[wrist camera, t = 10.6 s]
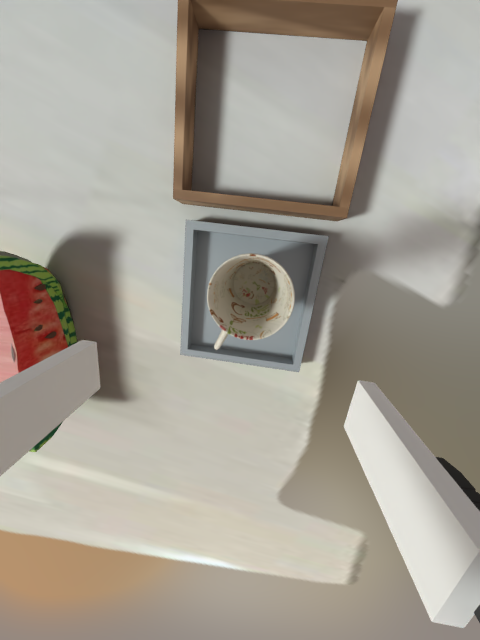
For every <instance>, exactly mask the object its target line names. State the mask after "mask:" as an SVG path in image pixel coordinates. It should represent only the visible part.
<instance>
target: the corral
mask: <svg viewBox="0 0 480 640" xmlns="http://www.w3.org/2000/svg"><path fill="white" fill-rule="evenodd" d="M397 1H398V0H178V21H177V61H176V102H175V142H174V183H173V199H175V200H177V201H179V202H180V203H182V204H188V205H197V206H206V207H215V208H224V209H232V210H241V211H250V212H259V213H268V214H277V215H286V216H295V217H304V218H313V219H321V220H330V221H339V220H342V219H345V218H347V215H348V211H349V206H350V202H351V198H352V194H353V189H354V185H355V181H356V177H357V172H358V168H359V164H360V159H361V155H362V151H363V147H364V142H365V138H366V134H367V130H368V125H369V121H370V117H371V112H372V108H373V104H374V100H375V95H376V91H377V87H378V83H379V78H380V74H381V70H382V65H383V61H384V57H385V53H386V48H387V44H388V40H389V36H390V31H391V27H392V23H393V18H394V14H395V10H396V6H397ZM199 29H210V30H224V31H238V32H252V33H266V34H280V35H294V36H309V37H323V38H337V39H351V40H365V41H367V44H366V49H365V54H364V58H363V63H362V68H361V73H360V77H359V82H358V87H357V91H356V96H355V101H354V105H353V110H352V115H351V119H350V124H349V129H348V134H347V138H346V143H345V148H344V152H343V157H342V162H341V166H340V171H339V176H338V180H337V185H336V190H335V195H334V199H333V204H332V206H327V205H318V204H309V203H300V202H291V201H281V200H272V199H263V198H254V197H245V196H236V195H226V194H217V193H208V192H199V191H191V187H192V165H193V143H194V122H195V100H196V78H197V56H198V34H199Z"/></svg>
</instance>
